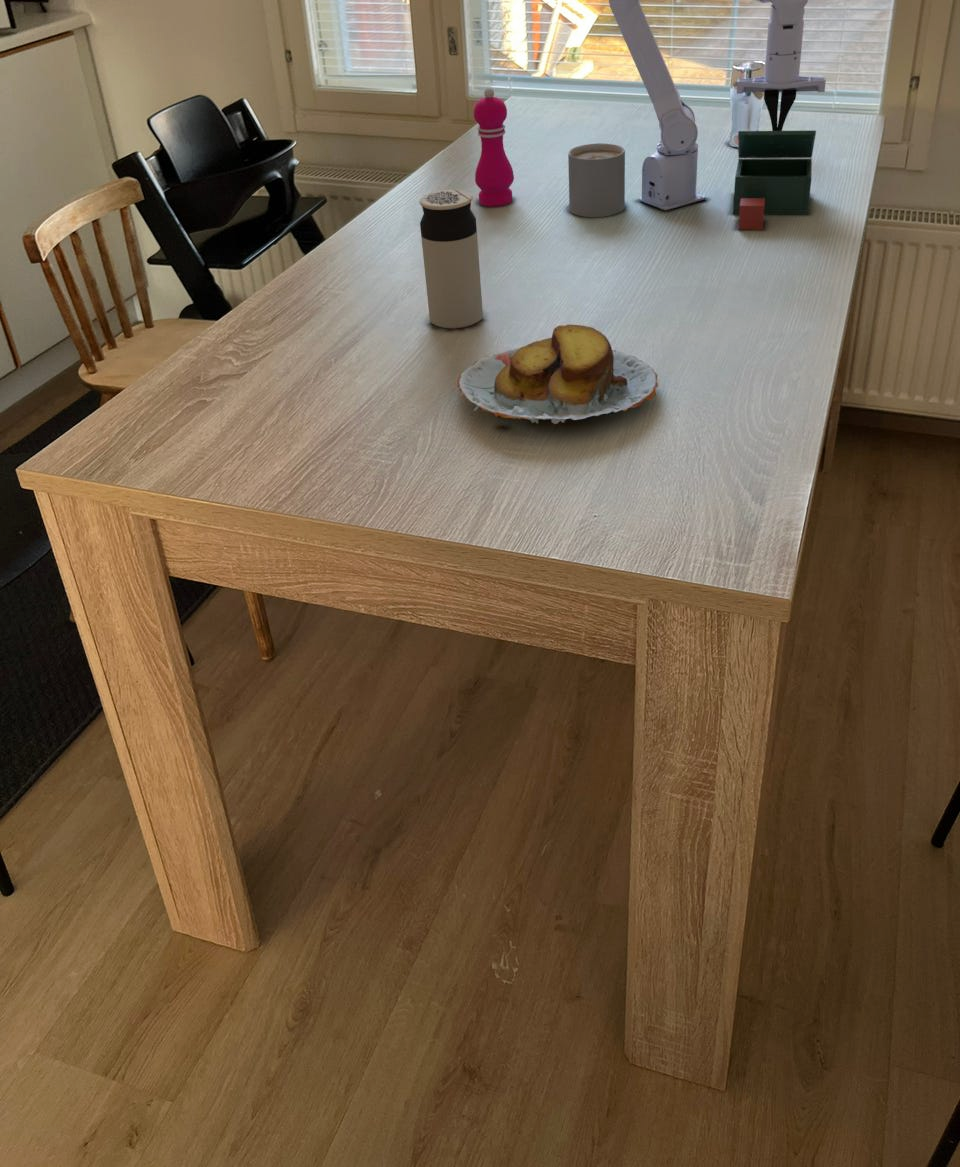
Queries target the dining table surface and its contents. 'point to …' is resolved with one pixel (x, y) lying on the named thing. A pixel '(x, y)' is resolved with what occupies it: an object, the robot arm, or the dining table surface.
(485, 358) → the food on plate
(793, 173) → the bin
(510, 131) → the dining table surface
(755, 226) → the block
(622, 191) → the coffee mug
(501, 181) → the pepper mill
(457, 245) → the travel mug
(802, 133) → the bin lid
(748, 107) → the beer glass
